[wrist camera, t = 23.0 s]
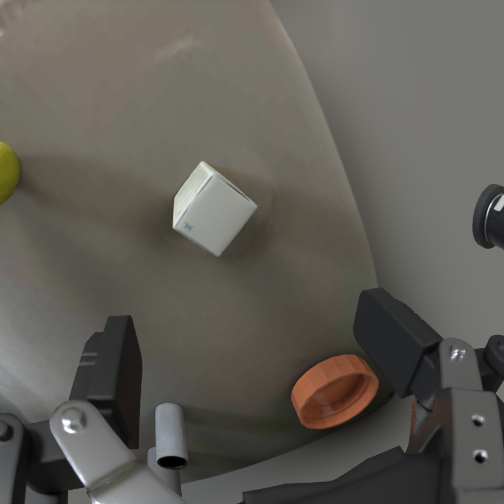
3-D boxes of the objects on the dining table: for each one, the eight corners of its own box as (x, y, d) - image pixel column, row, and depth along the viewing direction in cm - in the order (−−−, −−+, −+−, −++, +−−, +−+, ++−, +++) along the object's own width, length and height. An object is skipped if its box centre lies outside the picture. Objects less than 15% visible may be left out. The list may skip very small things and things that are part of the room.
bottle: (157, 461, 49) (162, 524, 35) (141, 448, 46) (143, 515, 33) (182, 456, 49) (191, 520, 36) (167, 443, 47) (174, 512, 33)
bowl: (372, 343, 47) (388, 362, 43) (355, 398, 53) (366, 416, 48) (293, 361, 44) (305, 383, 40) (286, 415, 50) (294, 436, 45)
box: (204, 220, 33) (216, 262, 23) (172, 197, 31) (168, 230, 21) (235, 181, 32) (260, 207, 22) (203, 157, 31) (213, 171, 21)
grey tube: (171, 398, 42) (175, 453, 33) (188, 412, 44) (195, 464, 35) (149, 408, 42) (150, 461, 33) (167, 421, 44) (170, 472, 35)
